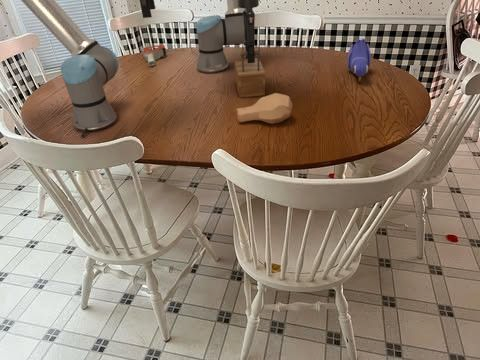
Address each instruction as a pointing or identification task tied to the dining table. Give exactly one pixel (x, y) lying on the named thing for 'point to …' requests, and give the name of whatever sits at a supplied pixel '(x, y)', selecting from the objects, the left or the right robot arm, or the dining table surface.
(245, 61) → the lid
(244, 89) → the wooden box
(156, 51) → the tape dispenser
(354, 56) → the toy
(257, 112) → the squash
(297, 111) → the dining table surface
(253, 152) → the dining table surface
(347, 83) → the dining table surface
